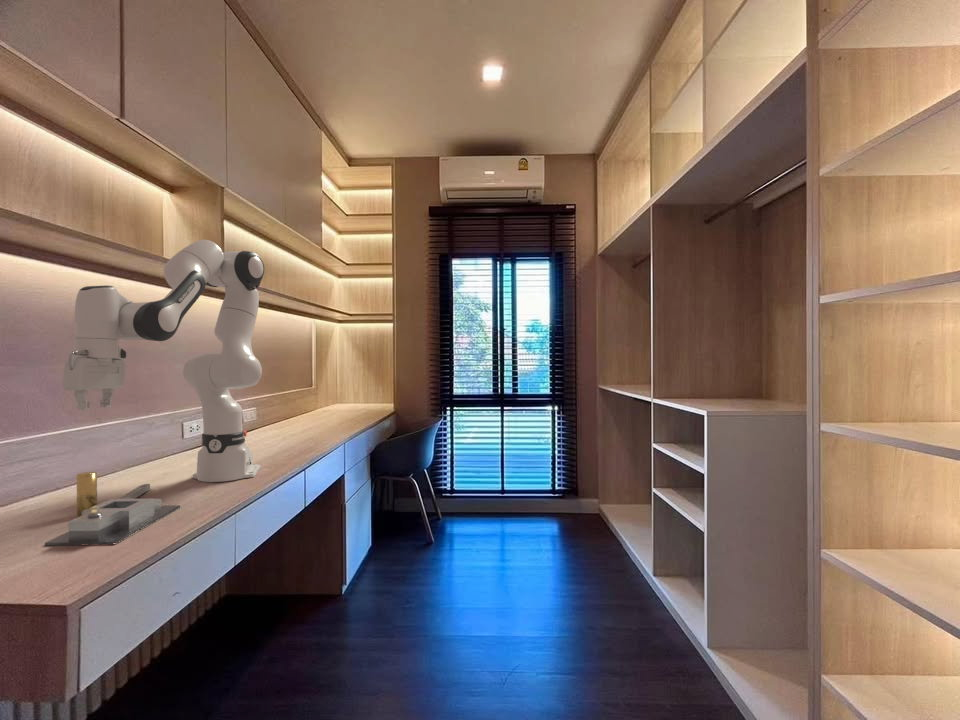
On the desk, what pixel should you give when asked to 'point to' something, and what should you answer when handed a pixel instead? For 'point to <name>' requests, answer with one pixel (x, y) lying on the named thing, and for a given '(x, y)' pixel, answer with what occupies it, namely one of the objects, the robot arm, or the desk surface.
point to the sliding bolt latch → (112, 521)
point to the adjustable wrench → (136, 492)
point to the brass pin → (86, 491)
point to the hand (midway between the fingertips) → (94, 408)
